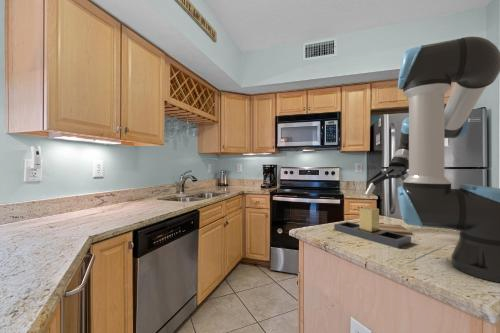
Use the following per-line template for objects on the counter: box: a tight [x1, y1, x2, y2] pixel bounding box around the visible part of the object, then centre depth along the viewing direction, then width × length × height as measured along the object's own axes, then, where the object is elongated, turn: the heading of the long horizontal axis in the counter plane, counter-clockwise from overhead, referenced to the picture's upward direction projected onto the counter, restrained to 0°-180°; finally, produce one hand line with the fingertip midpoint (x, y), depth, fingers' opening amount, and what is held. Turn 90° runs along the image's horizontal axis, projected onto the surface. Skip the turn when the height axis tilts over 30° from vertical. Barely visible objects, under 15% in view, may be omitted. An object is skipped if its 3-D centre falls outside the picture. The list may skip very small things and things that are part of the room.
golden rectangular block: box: [359, 206, 380, 233], centre depth 94 cm, size 5×5×11 cm
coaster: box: [379, 223, 413, 236], centre depth 102 cm, size 12×12×2 cm
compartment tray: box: [333, 221, 412, 249], centre depth 94 cm, size 26×9×3 cm, turn 32°
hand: (382, 197), depth 99 cm, fingers open, 13 cm apart
